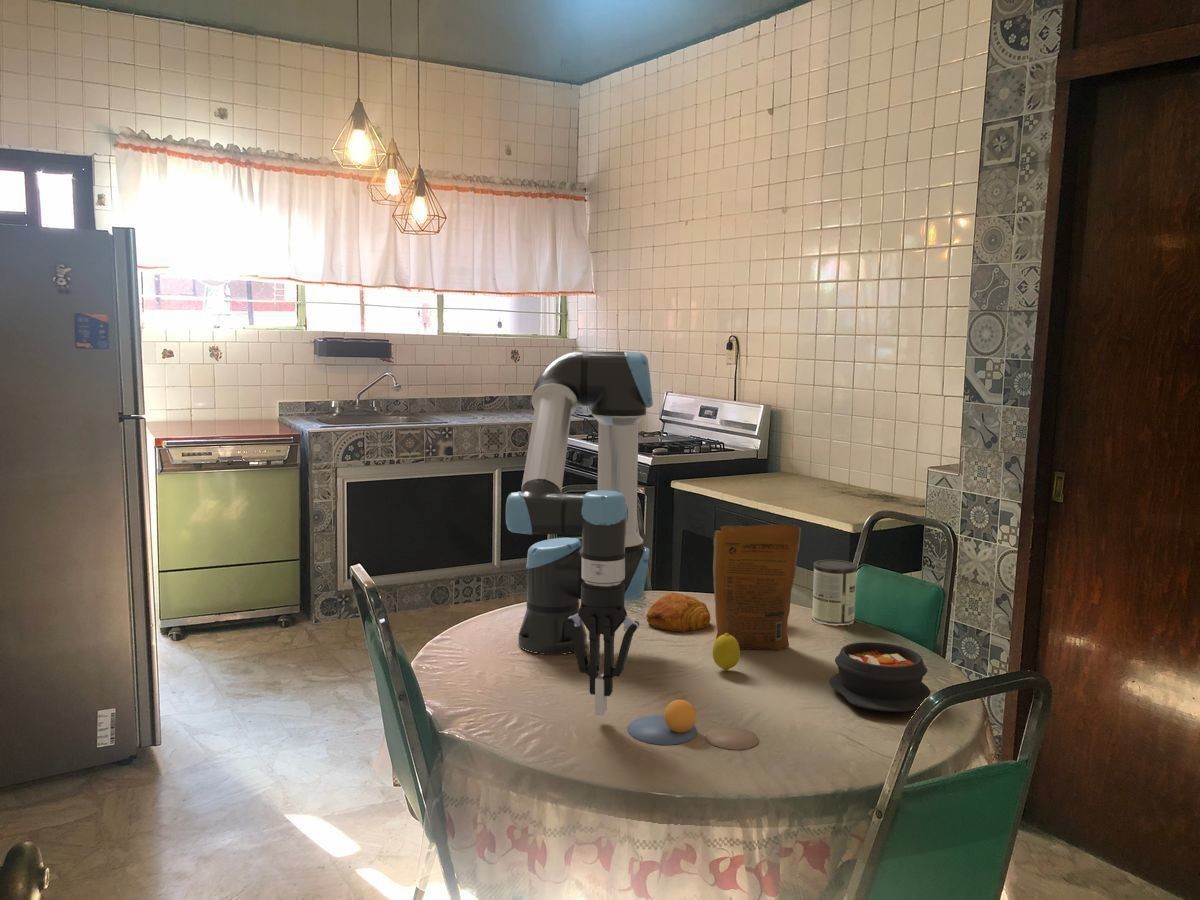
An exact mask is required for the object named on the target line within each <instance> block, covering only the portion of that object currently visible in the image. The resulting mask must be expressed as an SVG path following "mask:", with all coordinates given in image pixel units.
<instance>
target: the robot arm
mask: <svg viewBox="0 0 1200 900" xmlns="http://www.w3.org/2000/svg"><path fill="white" fill-rule="evenodd" d="M648 359H649V358H648V357H647V356H646V354H644V353H642V352H636V351H634V352H633V351H626V350H624V351H623V350H622V351H618V350H617V351H616V350H615V351H604V350H603V351H600V350H599V351H593V350H592V351H589V350H588V351H585V350H575V351H574V350H573V351H569V352H567V353H565V354H563V355H560V356H559V357H558V358H556V359H554V360H553V361H552V362H551V363H549V364H548V365H547V366H546V367H545V368H544V369H543V370H542V372H541V373H540V375H539V376H538V378H537V379H536V381H535V383H534V386H533V389H532V394H531V405H532V407H533V409H534V410H533V411H534V412H533V417H532V424H531V429H530V434H529V441H528V448H527V453H526V458H525V465H524V470H523V471H524V472H523V478H522V481H521V482H522V484H521V491H517V492H516V491H515V492H510V493H509V494H508V496H507V498H506V503H505V525H506V528H507V530H508V531H510V532H511V533H515V534H516V533H517V534H525V535H530V536H531V535H565V536H581V539H582V540H581V541H580V539H579V538H577V537H556V538H555V537H554V538H549V539H544V540H541V541H538V542H535V543H534V544H532V545H531V546H530V547H529V548H528V550H527V555H526V557H527V558H526V565H525V568H526V609H525V614H524V617H523V620H522V623H521V626H520V630H519V632H518V643H519V644H518V646H519V645H520V646H521V647H522V648H524V649H526V650H529V651H532V652H531V653H533V652H537V653H536V654H538V653H544V654H543V655H565V654H564V653H567V654H570V653H569V652H572V653H575V657H576V661H577V666H578V671H579V673H581V674H585V675H588V677H589V693H590V695H593V696H594V716H604V715H605V713H606V712H607V710H608V697H611V695H612V693H613V692H614V691H613V688H614V685H613V684H614V680H613V679H614V678H616V677H620V676H621V675H622V673H623V672H624V669H625V666H626V662H627V658H628V654H629V651H630V648H631V644H632V640H633V636H634V633H635V632H636V631H637V629H638V628H639V627H640V623H639V621H638V620H633V619H631V618H630V617H628V612H627V611H626V607H625V602H626V601H627V602H630V601H631V602H632V601H638V600H640V599H642V597H643V594H644V590H645V585H646V580H647V575H648V574H647V572H648V566H649V565H648V564H649V559H650V548H648V547H646V546H644V539H643V538H642V537H641V535H640V534H638V532H637V527H638V525H637V520H638V519H637V517H638V473H639V471H638V470H639V468H638V467H639V466H638V465H639V424H640V423H641V421H642V420H643V419H644V418H645V417H646V415H647V409H649V408H652V407H653V406H654V401H653V392H652V383H651V373H650V365H649V364H650V363H649V360H648ZM578 406H582V407H585V406H587V407H591V416H592V417H593V418H594V419H595V420H596V421H597V424H598V436H597V438H598V440H597V445H598V447H597V449H598V450H597V490H591V491H587V492H586V493H585V494H584V493H562V492H563V483H564V474H565V469H566V468H565V467H566V458H567V451H568V442H569V435H570V429H571V427H570V426H571V420H572V419H571V417H572V415H574V413H575V411H576V410H577V407H578ZM622 624H623V631H624V635H623V637H622V640H621V644H620V648H619V652H618V654H617V655H618V656H617V658H616V663H615V659H614V658H615V635H616V632H617V630H619V628H620V626H621V625H622ZM586 629H587V631H588V634H587V631H586ZM587 635H588V636H587ZM601 635H603V673H599V672H600V671H601V669H600V658H601V657H600V654H601V653H600V651H601V650H600V648H601V645H600V644H601ZM587 637H588V639H589V657H588V653H587V652H588V651H587V649H586V648H587V647H586V646H587V645H588V641H587V640H588V639H587ZM586 644H587V645H586ZM520 646H519V647H520ZM521 647H520V648H521ZM522 648H521V649H522ZM524 649H523V650H524ZM526 650H525V651H526ZM529 651H528V652H529ZM574 651H575V652H574ZM614 665H615V666H614Z"/></svg>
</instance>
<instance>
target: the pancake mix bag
mask: <svg viewBox="0 0 1200 900" xmlns="http://www.w3.org/2000/svg"><path fill="white" fill-rule="evenodd" d="M801 532H802V527H800V526H798V525H796V524H757V525H723V526H720V530H714V536H713V542H712V543H713V554H712V555H713V556H712V557H713V558H712V560H713V561H712V562H713V563H712V576H713V592H714V596H713V597H714V603H715V604H714V610H715V612H714V613H715V623H716V630H717V633H716V637H715V640H716V639H717V638H718V637H719V636H721V635H724V634H725V633H728V634H729V635H731V636H733V637H734V638H735V639H736V640H737V642H738V644H739V648H740V650H763V651H781V650H784V649H787V648H789V647H790V641H789V636H788V620H789V616H790V611H791V600H792V599H791V598H792V589H793V585H794V580H795V578H796V577H795V576H796V570H797V559H798V553H799V550H800V541H801Z"/></svg>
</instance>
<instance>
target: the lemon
mask: <svg viewBox="0 0 1200 900" xmlns="http://www.w3.org/2000/svg"><path fill="white" fill-rule="evenodd" d="M740 654H741V649H740V648H739V644H738V642H737V640H736V639H735V638H734V637H733V636H731V635H729V634H728V633H725V634H724V635H721V636H719V637H718V638H717V639H716V638H715V639H714V643H713V646H712V658H713V661H714V663H715V665H716V666H717V667H719V668H720V669H722V670H723V671H724V672H727V671H728V670H730V669H733V668H734V667H735V666H736V665H737V664H738V662H739V660H740Z"/></svg>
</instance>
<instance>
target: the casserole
mask: <svg viewBox="0 0 1200 900" xmlns="http://www.w3.org/2000/svg"><path fill="white" fill-rule="evenodd" d="M834 662H835V665H836V666H837V667H838V672H837V673H835V674H834V675H832V676H831V677H830V678H829V685H830V686H831V688H832V689H833V690H835V691H836V692H838V693H839V694H840V695H842V696H843V697H844V698H845V699H846V700H847V702H849V703H850V704H851V705H853V706H854V707H855V706H856V707H858V708H862V709H867V710H872V711H878V712H884V713H885V712H886V713H887V712H889V713H905V712H906V713H907V712H908V713H909V712H913V711H916V710H917V708H918V707H919V706H920V705H921V704H922V703H923V702H924V701H923V700H924V699H925V698H927V697H928V696H929V695H930V694H932V693H931V689H930V688H929V687H928V685H926V684H925V683H924V682H923V678H924V677H925V675H926V674H927V673H928V668H927V666H926V664H924V660H923V657H922V656H921V654H920V653H918V652H916V651H914V650H912V649H909V648H907V647H904V646H901V645H895V644H892V643H891V644H890V643H886V642H885V643H883V642H876V641H875V642H871V641H869V642H864V641H863V642H854V643H848V644H845V645H844V646H842V648H841V649H840V651H839V653H838V655H837V656H835V658H834ZM930 696H931V695H930ZM930 696H929V697H930ZM922 701H923V702H922Z"/></svg>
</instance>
